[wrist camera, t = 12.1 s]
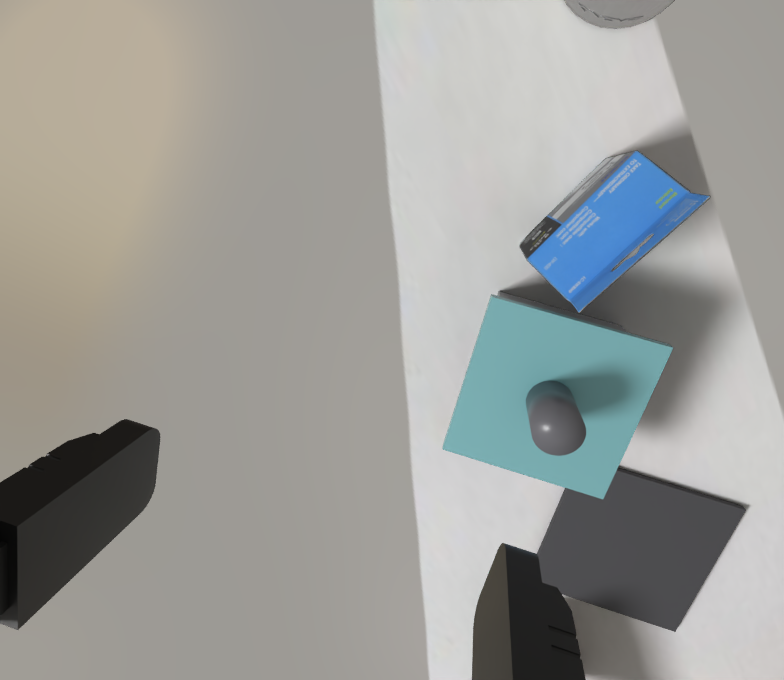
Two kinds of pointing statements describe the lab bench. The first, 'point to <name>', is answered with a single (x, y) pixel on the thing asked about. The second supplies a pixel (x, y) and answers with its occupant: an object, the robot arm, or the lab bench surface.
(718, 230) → the lab bench surface
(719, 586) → the lab bench surface
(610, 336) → the lid
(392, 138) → the lab bench surface
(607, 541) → the mat
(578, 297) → the label tape cartridge
